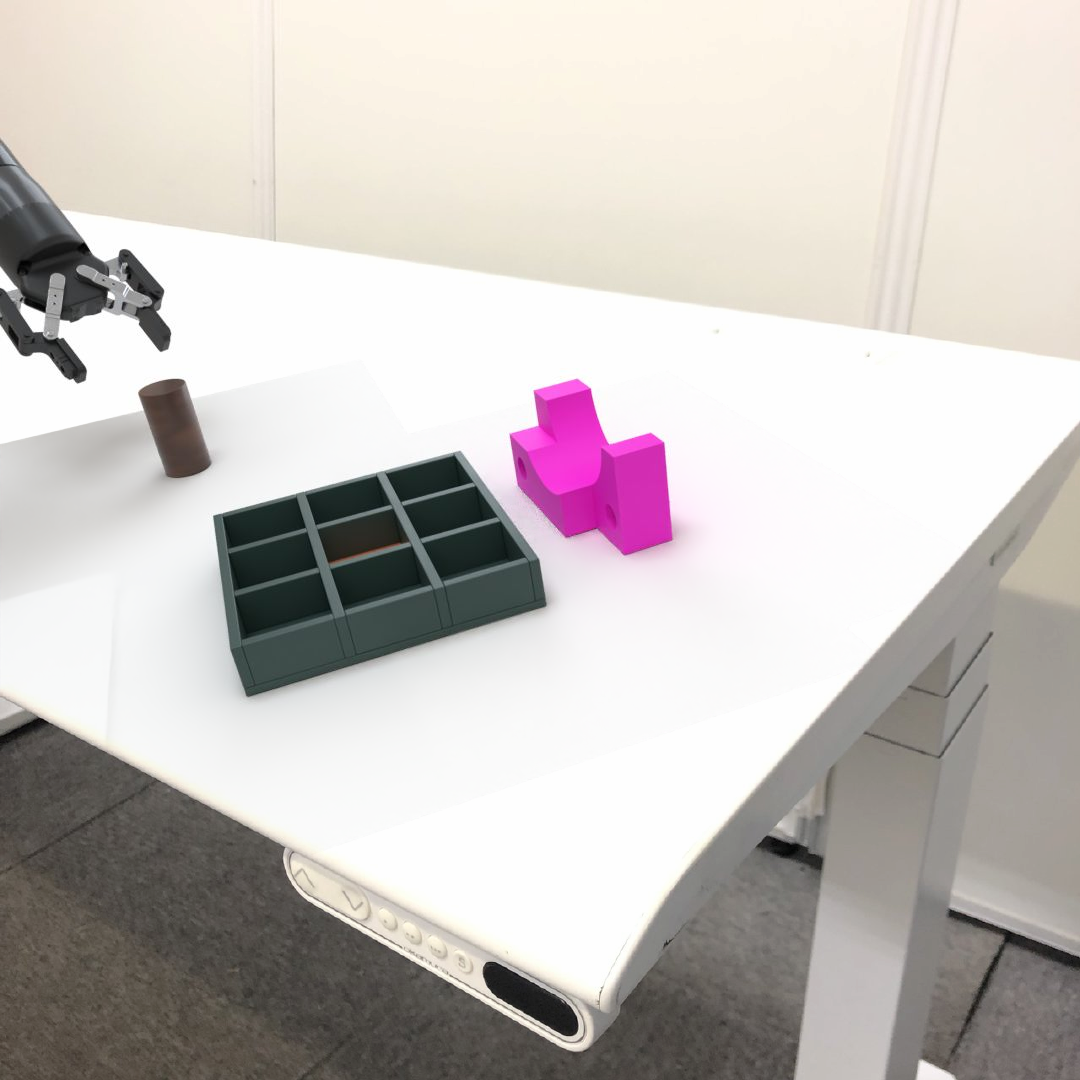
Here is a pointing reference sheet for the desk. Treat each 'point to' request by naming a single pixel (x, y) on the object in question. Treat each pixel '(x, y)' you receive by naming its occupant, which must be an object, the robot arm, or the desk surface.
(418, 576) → the grid
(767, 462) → the desk surface
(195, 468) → the cylinder
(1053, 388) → the desk surface
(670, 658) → the desk surface
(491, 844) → the desk surface
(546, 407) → the toy block
